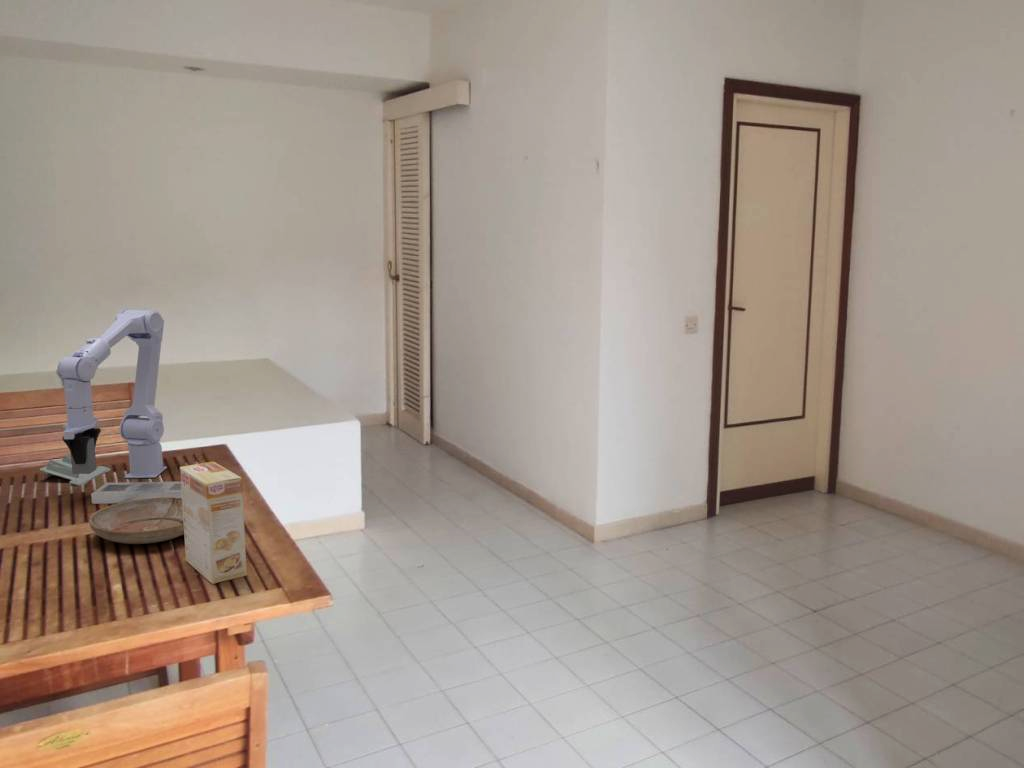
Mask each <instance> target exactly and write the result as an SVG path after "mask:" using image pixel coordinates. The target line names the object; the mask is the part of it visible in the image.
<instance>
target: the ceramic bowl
mask: <svg viewBox="0 0 1024 768" xmlns="http://www.w3.org/2000/svg"><path fill="white" fill-rule="evenodd" d="M88 522H89V526H90V528H91V530H92V532H94V533H95V535H97V536H99V537H101V538H102V539H104V540H107V541H111V542H112V543H113V542H115V543H118V544H125V545H141V544H142V545H145V544H155V543H161V542H162V543H163V542H165V541H166V542H167V541H169V540H173V539H176V538H178V537H181V536H184V523H183V509H182V498H175V497H159V498H147V499H139V500H133V501H127V502H123V503H114V504H110V505H109V506H106V507H104V508H100V509H99V510H96V511H95V512H93V514H92V515H91V516H90V517H89V519H88Z"/></svg>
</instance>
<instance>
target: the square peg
mask: <svg viewBox="0 0 1024 768" xmlns="http://www.w3.org/2000/svg"><path fill="white" fill-rule="evenodd" d="M69 451H70V450H69ZM70 458H71V463H72V473H73V474H90V473H92V472H93V471H95V470H96V469H97V467H98V466H97V459H96V458H97V457H96V446H94V437H92V438H89V440H88V443H87V449H86V462H85V464H75V462H74V459H73V456H72V454H71V451H70Z"/></svg>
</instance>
